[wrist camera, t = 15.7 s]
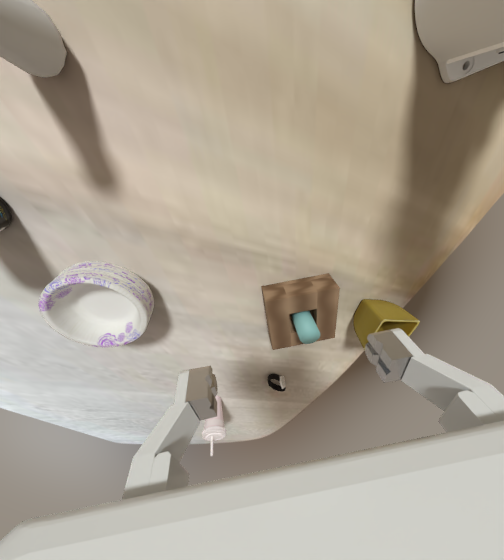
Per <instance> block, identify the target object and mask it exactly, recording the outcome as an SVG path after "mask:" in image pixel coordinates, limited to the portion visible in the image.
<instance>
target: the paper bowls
mask: <svg viewBox="0 0 504 560" xmlns="http://www.w3.org/2000/svg"><path fill="white" fill-rule="evenodd" d="M39 309H40V312H41V315H42V317H43V318H44V320H45V321H46V322H47V324H48V325H49V326H50V327H51V328H53V329H54V330H55V331H56V332H58V333H59V334H61V335H62V336H64V337H66V338H68V339H70V340H73V341H75V342H78V343H81V344H85V345H89V346H96V347H116V346H121V345H125V344H129V343H131V342H133V341H135V340H136V339H138V338H139V337H140V336H141V335H142V334H143V333H144V332H145V331H146V329H147V326H148V323H149V321H150V318H151V315H152V312H153V309H154V298H153V295H152V292H151V290H150V288H149V287H148V285H147V284H146V283H145V282H144V281H143V280H142V279H141V278H140V277H138V276H137V275H136V274H134V273H132V272H131V271H129V270H127V269H125V268H123V267H120V266H117V265H114V264H110V263H106V262H96V261H89V262H82V263H77V264H74V265H72V266H70V267H68V268H67V269H65V270H64V271H63V272H62V273H60V274H59V275H58V276H57V277H56V278H55V279H54V280H53V281H52V282H50V283H49V284H48V285H47V286H46V287H45V288H44V290H43V291H42V293H41V295H40V299H39Z"/></svg>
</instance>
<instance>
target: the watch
mask: <svg viewBox="0 0 504 560" xmlns="http://www.w3.org/2000/svg"><path fill="white" fill-rule="evenodd" d="M271 379H276V380H278V381H279V382H280V385H281V386H279V385H276V384H274V383H272V382H271ZM268 384H269V386H271V387H272V388H273V389H274V390H277V391H285V385H286V384H285V379H284V377H283V376H279V375H277V374H270V375H269V376H268Z"/></svg>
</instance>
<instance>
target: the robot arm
mask: <svg viewBox="0 0 504 560" xmlns="http://www.w3.org/2000/svg"><path fill="white" fill-rule="evenodd" d="M415 19H416V26H417V30H418V34H419V37H420V39H421V42H422V44H423V45H424V47H425V48H426V50H427V51H428V52H429V53H430V54H431V55H432V56H433V57H434V58H435V59H436V61H437V62H438V66H439V70H440V74H441V77H442V80H443V81H444V82H445V83H451V82H454V81H457V80H459V79H462V78H464V77H466V76H469V75H471V74H474V73H476V72H478V71H481V70H483V69H486V68H488V67H490V66H493V65H495V64H497V63H500V62H502V61H504V0H415ZM464 64H465V65H464ZM463 65H464V68H463ZM367 339H368V341H369V342H368V343H367V344H366V346H365V351H366V355H367V357H368V359H369V360H370V362H371V363H372V364H374V365H376V371H377V373H378V374H379V376H380V377H381V379H382V381H383V382H384V383H385V382H391V381H397V380H401V381H402V382H404V383H405V384H406V385H408V386H409V387H411V388H412V389H414V390H415V391H416V392H418V393H419V394H421V395H422V396H423V397H425V398H427V399H428V400H429V401H430V402H432V403H433V404H435V405H436V406H437V407H439V408H440V409H442V410H443V411H444V413H443V414H442V415H441V417H440V418H439V423H440V424H441V426H442V427H443V429H444V430H445V431H446V433H441V434H437V435H432V436H427V437H422V438H417V439H413V440H407V441H403V442H398V443H393V444H388V445H383V446H379V447H374V448H369V449H364V450H359V451H355V452H350V453H345V454H340V455H335V456H331V457H326V458H321V459H316V460H312V461H306V462H302V463H297V464H292V465H287V466H283V467H278V468H273V469H269V470H264V471H258V472H253V473H249V474H244V475H239V476H234V477H229V478H225V479H220V480H215V481H211V482H205V483H201V484H196V485H191V486H188V482H189V473H188V471H187V470H186V469H185V468H184V467H183V466H182V465H181V464H180V461H181V459H182V457H183V455H184V453H185V451H186V449H187V447H188V445H189V443H190V441H191V439H192V437H193V435H194V433H195V431H196V429H197V427H198V425H199V423H200V420H204V419H209V418H213V417H217V401H216V398H215V397H216V395H217V381H216V377H215V375H214V374H212V368H211V366H206V367H201V368H195V369H189V370H184V371H180V373H179V375H178V381H177V387H176V393H175V399H174V405H171V406H170V407H169V408H168V410H167V411H166V412H165V414H164V415H163V417H162V418H161V419H160V421H159V422H158V424H157V425H156V426H155V428H154V429H153V431H152V432H151V433H150V435H149V436H148V438H147V439H146V440H145V442H144V443H143V444H142V446H141V447H140V449H139V450H138V451H137V453H136V454H135V456H134V457H133V460H132V464H131V468H130V472H129V475H128V479H127V482H126V486H125V490H124V494H123V497H122V500H119V501H114V502H109V503H105V504H100V505H95V506H90V507H86V508H81V509H76V510H72V511H67V512H62V513H57V514H52V515H47V516H42V517H36V518H32V519H29V520H26V521H23V522H21V523H20V524H19V525H17V526H16V527H15V528H13V529H12V530H11V531H10V532H9V533H8V534H7V535H6V536H5V537H4V538H3V539H2V540H1V541H0V560H504V396H503V395H502V394H501V393H500V392H499V391H498V390H497V389H495V388H494V387H493V386H492V385H491V384H489V383H487V382H485V381H483V380H481V379H479V378H477V377H475V376H473V375H471V374H469V373H466V372H464V371H462V370H460V369H458V368H456V367H454V366H452V365H450V364H448V363H446V362H444V361H442V360H439V359H438V358H436V357H434V356H431V355H429V354H424V353H423V352H422V351H421V350H420V348H419V347H418V346H417V345H416V344H415V343H414V342H413V341H412V340H411V339H410V338H409V337H408V336H407V335H406V333H405V332H404V331H403V330H402V329H400V328H396V329H391V330H385V331H380V332H376V333H371V334H369V335H368V337H367Z"/></svg>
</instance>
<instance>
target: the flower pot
mask: <svg viewBox="0 0 504 560" xmlns="http://www.w3.org/2000/svg"><path fill="white" fill-rule="evenodd" d="M419 323H420V321H419V320H418V319H416V318H415V317H414V316H412V315H411V314H409V313H408V312H407V311H405V310H404V309H403V308H401V307H399V306H398V305H395V304H393V303H390V302H387V301H383V300H368V299H363V300H362V301H361V303H360V305H359V307H358V309H357V310H356V312H355V314H354V329H355V332H356V334H357V336H358V338H359V340H360V342H361V344H362V346H363V348H364V350H365V346H366V344H367V343H368V342H369V341H368V339H367V337H368V335H369V334H371V333H376V332H380V331H385V330H391V329H396V328H400V329H402V330H403V331H404V332H405V333H406V335H407V336H408V337H409V336H410V335H411V333H412V332H413V331H414V330H415V328H416V327H417V326H418V324H419Z"/></svg>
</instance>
